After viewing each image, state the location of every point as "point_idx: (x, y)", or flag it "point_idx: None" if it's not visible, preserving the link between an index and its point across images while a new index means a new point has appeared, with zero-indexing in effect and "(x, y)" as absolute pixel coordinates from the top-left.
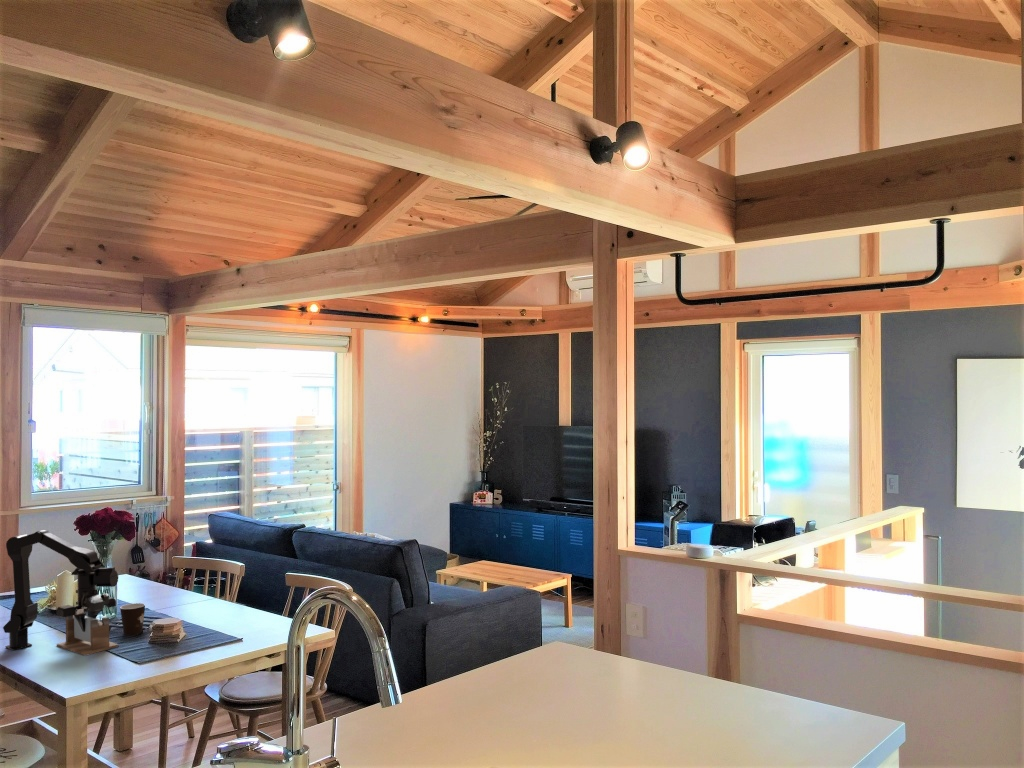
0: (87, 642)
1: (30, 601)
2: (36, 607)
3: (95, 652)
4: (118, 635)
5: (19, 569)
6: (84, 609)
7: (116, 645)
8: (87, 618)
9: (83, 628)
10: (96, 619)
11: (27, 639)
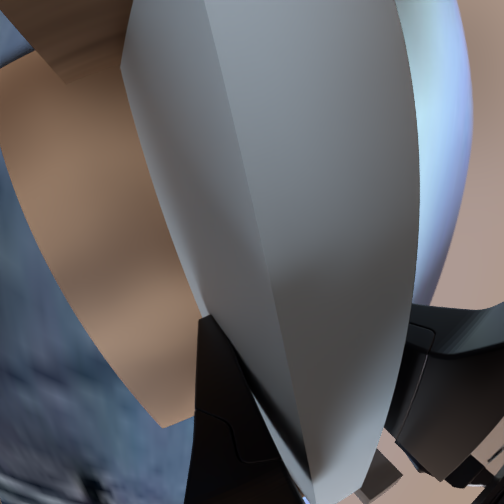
0: (190, 300)
1: (484, 476)
2: (453, 475)
3: None
4: (11, 400)
5: None
6: (500, 483)
7: (3, 67)
8: (391, 358)
9: None
10: (295, 44)
11: None
